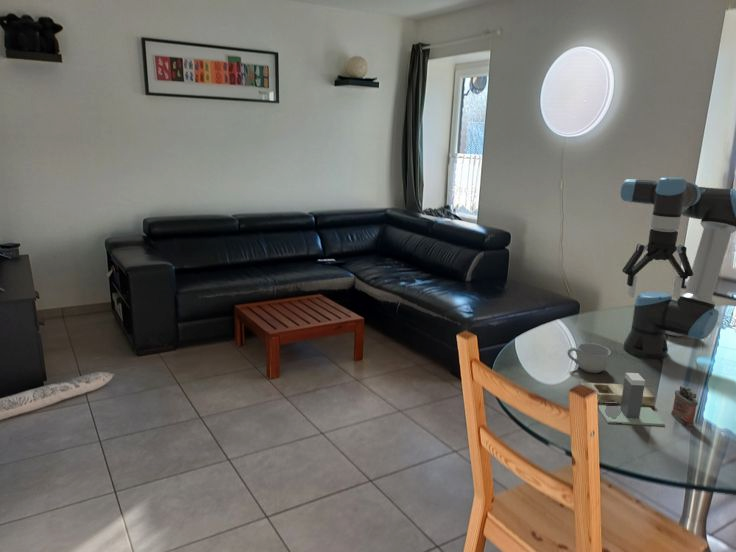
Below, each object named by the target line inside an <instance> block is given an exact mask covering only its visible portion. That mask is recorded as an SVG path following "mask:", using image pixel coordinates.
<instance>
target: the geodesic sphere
mask: <svg viewBox="0 0 736 552" xmlns="http://www.w3.org/2000/svg"><path fill="white" fill-rule="evenodd" d="M666 334H667V335H669V336H674V337H677V338H678V337H683V336H684V335H680V334H677V333H673V332H669V331H666V332H665V335H666Z"/></svg>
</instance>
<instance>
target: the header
mask: <svg viewBox="0 0 736 552" xmlns="http://www.w3.org/2000/svg"><path fill="white" fill-rule="evenodd" d="M580 385H585V386H587V387H590V388H592V389H594V390H596V391H597V393H598V399H599V403H598V404H601V405H604V404H603V403H605V402H617V403H621V400H622V393H623V386H624V383H623V384H621V383H620V384H619V383H604V382H603V383H602V382H601V383H599V382H579V386H580ZM655 399H656V398H655V395H654V394H653V393H652V392H651V391H650V390H649V389H648V388H647V387H646V386H644V392H643V398H642V404H641V406H644V407H654V403H655Z"/></svg>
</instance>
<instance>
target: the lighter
mask: <svg viewBox="0 0 736 552" xmlns="http://www.w3.org/2000/svg"><path fill="white" fill-rule="evenodd" d="M696 398H697V393H696V392H695V391H692V390H691V388H690V387H686V386H685V385H681V384H680V386H679V389H678V390H677V389H676V390H675V391H674V400H673V407H672V410H671V412H670V414H671V416H672V417H673V418H674V419H675V420H676V421H677V422H679V423H680V424H682V426H685V427H687V428H688V427H689V428H693V427H694V424H695V422H694V421H695V415H696V410H697V406H698V404H699V401H698V400H696Z"/></svg>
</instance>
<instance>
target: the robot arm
mask: <svg viewBox="0 0 736 552" xmlns="http://www.w3.org/2000/svg"><path fill="white" fill-rule="evenodd" d="M620 198H621V200H622V201H624V202H628V203H636V204H643V205H648V206H653V209H652V210H653V211H652V215H651V222H650V229H649V236H648V242H647V245H644V244H641V243H637V245H636V247H635V250H634V252H633V254H632V255H631V256H630V258H629V260H628V261H627V262H626V264H625V265H624V267H623V268H622V270H621V271H622V273H624V274H625V275H627V280H626V281H627V282H626V284H627V286H628V293H627V295H628V296H629V297H630V298H635V292H636V287H637V281H638V276H636V275H637V274H638V273H639V272H640V271H641V270H642V269H643V268H644V267H646V266H647V265H648V264H649V263H650V262H652V261H653V260H655V261H661V260H662V261H667V260H668V262H669V263H670V265H671V266H672V267H673V269H674V270H675V271H676V273H677V274H678V276H677V275H676V276H675V279H674V280H675V281H674V284H673V285H674V287H673V290H672V291H673V292H672V295H671V294H669V293H668V292H663V291H662V292H660V291H647V292H646V291H645V292H640V293H639V294H638V295H636V298H635V302H634V307H633V308H634V309H633V313H632V314H633V315H632V322H631V329H630V331H629V333H628V335H627V337H626V338H625V340H624V342H623V349H624V351H625V352H627V353H629V354H631V355H633V356H637V357H640V358H644V359H645V358H646V359H652V360H653V359H664V358H666V357H668V352H669V348H668V342H667V338H666V333H665V332H666V331H669V332H673V333H677V334H680V335H683V336H685V337H687V338H690V339H691V338H692V339H697V340H704V339H706V338H708V337H709V336H710V335H711V333H712V332H713V330H715V327H716V325H717V323H718V320H719V311H718V310H717V309H716V308H715V307H716V303H715V301H714V300H713V295H714V293H715V289H716V287H717V282H718V279H719V275H720V273H721V269H722V266H723V264H724V259H725V257H726V253H727V249H728V245H729V243H730V239H731V236H732V234H733V233H734V232H736V189H734V188H718V187H716V188H715V187H706V186H705V187H704V186H698V185H697V184H696V183H694V182H690V181H689V182H687V180H686V179H685V178H683V177H672V176H670V177H669V176H667V177H666V176H665V177H664V176H663V177H660V178H659V179H658V180H649V179H640V178H639V179H637V178H627V179H625V180H624V181H623V183H622V184H621V187H620ZM681 216H683V217H687V218H691V219H694V220H695V219H697V220H701V221H700V225H701V226H702V228H703V230H702V233H701V237H700V239H699V244H698V247H697V251H696V253H695V257H694V260H693V263H692V267H691V264H690V260H689V258H688V255H687V247H686V246H685V245H683V244H679V245H676V243H677V241H678V234H679V232H678V230H679V229H680V223H681ZM645 251H647V253H645V255H643V257H642V254H643V253H644V252H645ZM674 253H678V257H679V259H680V262H681V265H680V263H678V261H677V259H676V258H675V256H674ZM641 257H642V258H641ZM640 258H641V259H640ZM681 266H682V267H681ZM687 279H688V281H687V284H686V280H687ZM685 285H686V287H685ZM684 287H685V291H684V292H683V293H681V291H682V289H683V288H684ZM673 298H675V299H677V300H675V299H673Z"/></svg>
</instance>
